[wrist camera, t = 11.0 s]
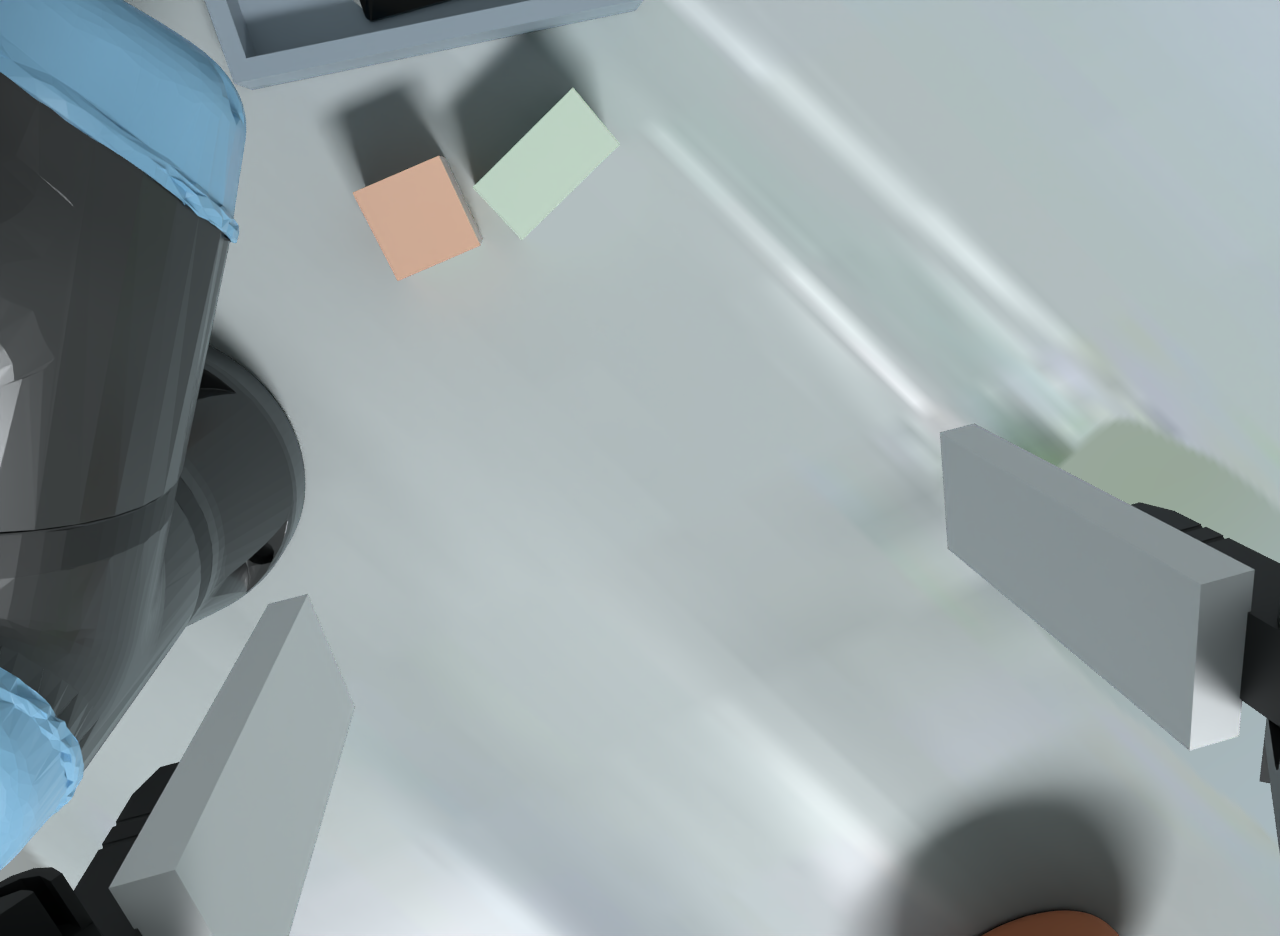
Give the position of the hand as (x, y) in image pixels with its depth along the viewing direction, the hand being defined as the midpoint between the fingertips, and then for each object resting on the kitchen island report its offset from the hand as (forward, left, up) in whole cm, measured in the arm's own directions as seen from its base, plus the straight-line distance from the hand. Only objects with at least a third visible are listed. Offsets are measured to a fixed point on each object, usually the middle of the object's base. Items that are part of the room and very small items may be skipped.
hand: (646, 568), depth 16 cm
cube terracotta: (-5, +7, -27) cm, 28 cm away
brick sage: (+1, +8, -27) cm, 28 cm away
